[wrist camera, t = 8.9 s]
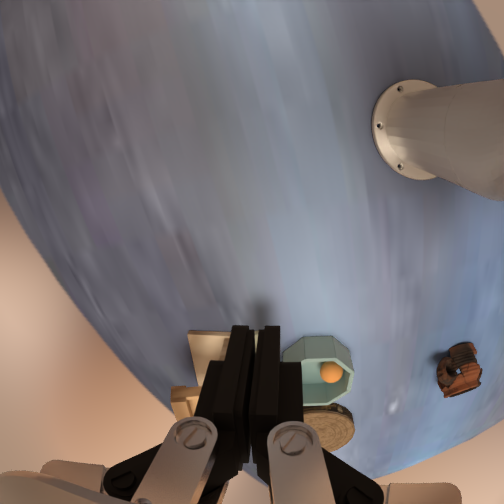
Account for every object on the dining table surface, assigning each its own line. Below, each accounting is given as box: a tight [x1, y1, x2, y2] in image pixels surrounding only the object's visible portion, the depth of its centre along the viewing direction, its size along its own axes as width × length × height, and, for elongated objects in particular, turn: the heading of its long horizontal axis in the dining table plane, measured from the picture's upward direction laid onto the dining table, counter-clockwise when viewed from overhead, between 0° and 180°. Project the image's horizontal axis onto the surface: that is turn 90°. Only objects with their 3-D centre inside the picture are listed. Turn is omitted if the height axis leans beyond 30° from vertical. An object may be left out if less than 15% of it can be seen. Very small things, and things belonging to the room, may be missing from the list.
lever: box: [171, 330, 259, 422], centre depth 39 cm, size 14×16×3 cm
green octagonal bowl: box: [283, 336, 354, 406], centre depth 45 cm, size 10×10×5 cm
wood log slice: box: [303, 403, 355, 452], centre depth 53 cm, size 16×16×3 cm
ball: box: [320, 361, 343, 383], centre depth 45 cm, size 4×4×4 cm
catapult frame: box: [188, 330, 231, 386], centre depth 44 cm, size 13×12×10 cm
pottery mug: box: [437, 343, 482, 398], centre depth 44 cm, size 12×10×8 cm
